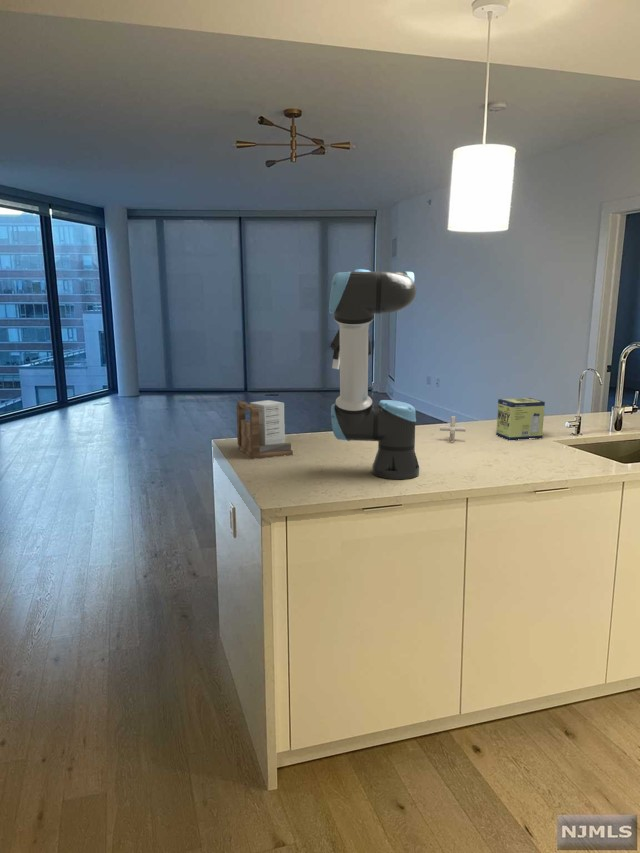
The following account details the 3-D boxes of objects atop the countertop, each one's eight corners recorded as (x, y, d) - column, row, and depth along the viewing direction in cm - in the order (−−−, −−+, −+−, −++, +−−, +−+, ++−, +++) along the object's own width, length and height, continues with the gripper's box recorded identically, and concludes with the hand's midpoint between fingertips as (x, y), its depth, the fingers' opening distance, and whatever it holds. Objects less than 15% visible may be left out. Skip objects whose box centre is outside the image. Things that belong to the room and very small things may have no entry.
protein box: (495, 435, 251) (497, 398, 247) (527, 433, 255) (530, 397, 251) (509, 441, 241) (511, 402, 238) (542, 439, 245) (545, 401, 242)
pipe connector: (465, 444, 234) (466, 419, 232) (439, 443, 236) (440, 418, 234) (464, 439, 244) (465, 414, 241) (439, 437, 245) (440, 413, 243)
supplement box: (285, 447, 221) (285, 402, 218) (265, 451, 215) (264, 405, 212) (270, 443, 228) (269, 399, 225) (250, 446, 222) (249, 401, 219)
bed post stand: (293, 455, 217) (292, 406, 213) (252, 459, 210) (252, 408, 207) (275, 444, 233) (275, 398, 229) (237, 448, 226) (236, 401, 223)
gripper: (342, 307, 208) (332, 368, 210) (386, 319, 226) (376, 375, 228) (326, 306, 213) (317, 365, 216) (371, 317, 231) (361, 372, 234)
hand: (347, 370), depth 222 cm, fingers open, 13 cm apart
